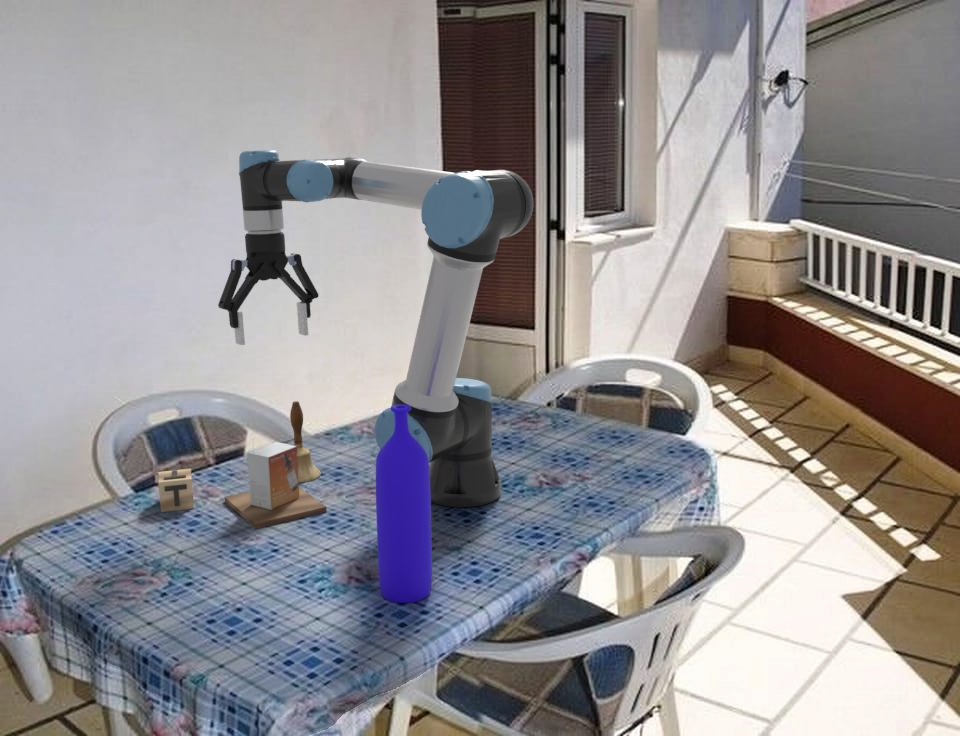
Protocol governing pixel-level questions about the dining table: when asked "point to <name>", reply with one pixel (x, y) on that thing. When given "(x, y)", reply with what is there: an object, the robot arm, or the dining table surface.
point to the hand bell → (304, 458)
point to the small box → (273, 475)
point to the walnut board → (275, 509)
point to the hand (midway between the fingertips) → (272, 339)
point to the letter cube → (175, 490)
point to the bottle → (403, 515)
